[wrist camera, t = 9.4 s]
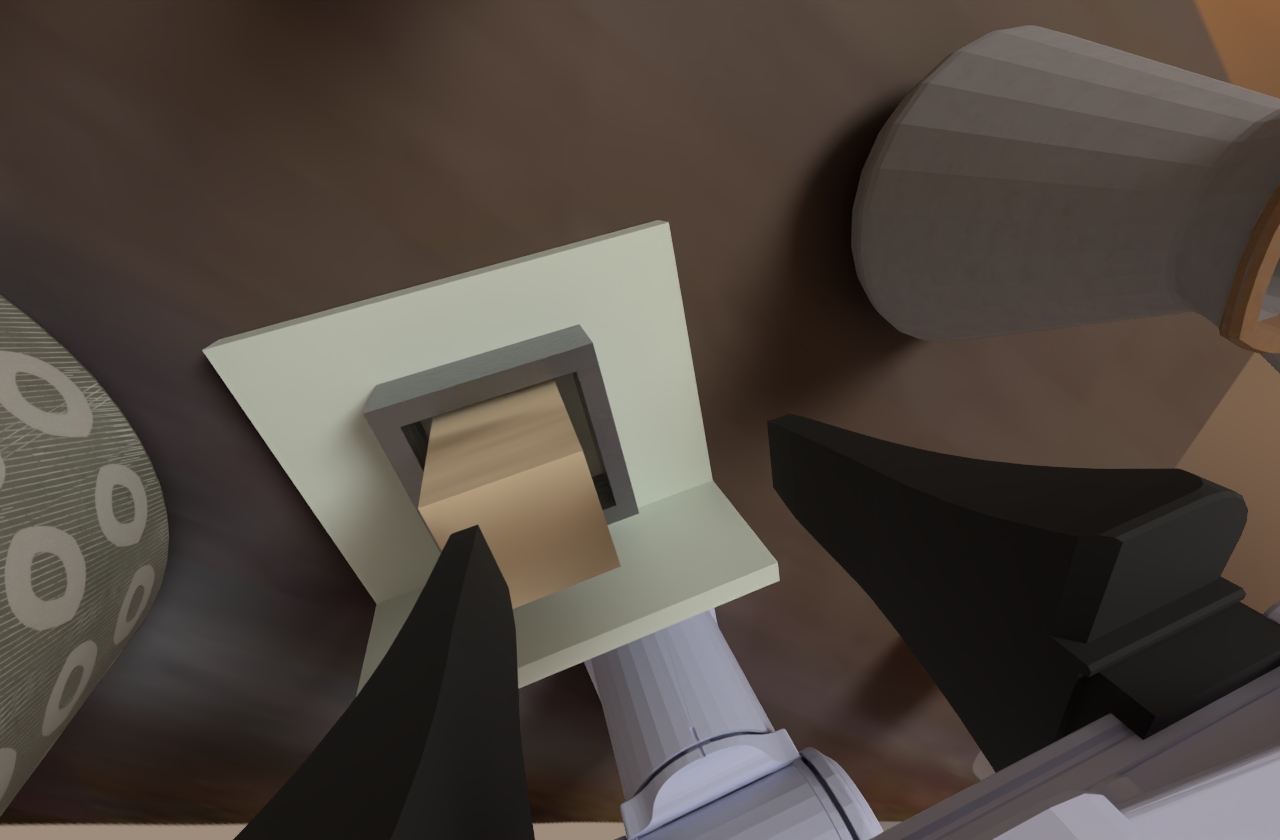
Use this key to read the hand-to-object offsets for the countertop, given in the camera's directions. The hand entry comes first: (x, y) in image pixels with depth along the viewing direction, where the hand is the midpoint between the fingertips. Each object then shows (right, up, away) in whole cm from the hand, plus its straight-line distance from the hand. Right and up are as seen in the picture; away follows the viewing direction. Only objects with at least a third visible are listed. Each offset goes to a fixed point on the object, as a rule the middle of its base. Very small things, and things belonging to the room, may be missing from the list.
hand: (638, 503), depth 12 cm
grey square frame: (-5, 0, +9) cm, 10 cm away
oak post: (-5, +2, +8) cm, 10 cm away
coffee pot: (+16, +10, +13) cm, 23 cm away
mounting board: (-5, +2, +9) cm, 11 cm away
